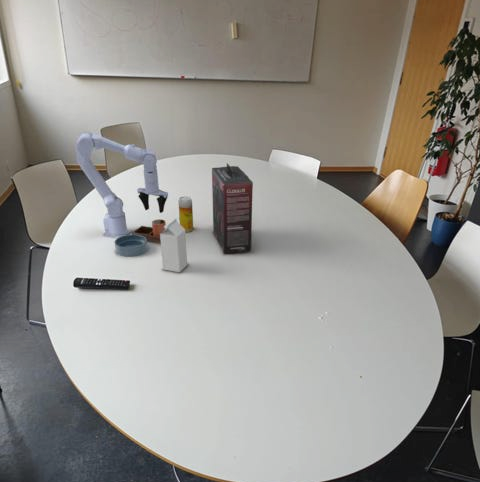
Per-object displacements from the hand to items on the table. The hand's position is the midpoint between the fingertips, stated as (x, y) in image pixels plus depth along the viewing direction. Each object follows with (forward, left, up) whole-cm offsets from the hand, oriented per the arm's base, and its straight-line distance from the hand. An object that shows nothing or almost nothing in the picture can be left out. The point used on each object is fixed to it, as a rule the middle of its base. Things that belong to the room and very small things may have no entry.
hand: (154, 210), depth 194 cm
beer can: (+12, +7, -10) cm, 17 cm away
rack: (+3, -8, -10) cm, 13 cm away
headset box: (+36, +3, -10) cm, 38 cm away
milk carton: (+25, -28, -10) cm, 39 cm away
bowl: (+1, -22, -10) cm, 24 cm away
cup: (+7, -8, -9) cm, 14 cm away
